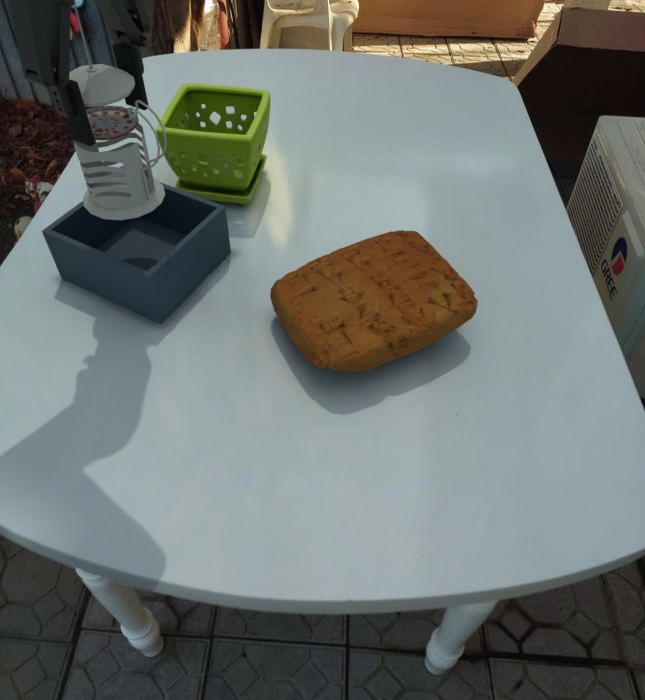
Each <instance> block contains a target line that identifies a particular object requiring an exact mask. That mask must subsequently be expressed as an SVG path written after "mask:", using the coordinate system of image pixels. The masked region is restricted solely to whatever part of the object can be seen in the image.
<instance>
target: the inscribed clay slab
mask: <svg viewBox="0 0 645 700" xmlns="http://www.w3.org/2000/svg"><path fill="white" fill-rule="evenodd" d="M475 294H476V292H475V291H474V290H473V289H472V287H471V286H470V285H469V283H468V282H467V281H466V279H465V278H463V277H461V275H460V274H459V272H458V271H457V270H455V268H454V267H453V266H452V265H451V264H450V262H448V260H447V259H445V258H444V257H443V256H442V255H441V254H440V253H439V251H438V250H437V249H436V248H435V247H434V246H433V245H432V244H431V243H430V242H429V241H427V239H426V238H425V237H424V236H423V235H421V233H419V232H418V231H416V230H403V229H402V230H395V231H392V230H390V231H388V232H385V233H381V234H378V235H375V236H372V237H369V238H368V237H367V238H365V239H362V240H360V241H357V242H355V243H351V244H350V245H348V246H344V247H341V248H338V249H336V250H333V251H331V252H330V253H327V254H324V255H321V256H319V257H317V258H315V259H313V260H310V261H308V262H307V263H305V264H304V265H301V266H300V267H298V268H297V269H295V270H293V271H289V272H288V273H286V274H285V275H283V276H282V277H281V278H279V279H276V281H275V282H274V283H273V285H272V286H271V287H270V295H269V296H270V301H271V304H272V308H273V310H274V312H275V315H276V316H277V319H278V320H279V322H280V325H281V326H282V327H283V329H284V331H285V332H286V333H287V335H288V337H289V339H290V340H291V342H292V344H293V345H294V347H295V348H296V349H297V350H298V351H299V352H300V353H301V355H302V356H303V358H304V359H305V360H306V361H307V362H308V363H309V364H311V365H313V366H314V367H315V368H319V369H330V370H333V371H338V372H342V373H345V374H347V373H354V372H355V373H357V372H364V371H370V370H372V369H376V368H379V367H381V366H383V365H385V364H388V363H390V362H393V361H395V360H397V359H401V358H403V357H405V356H408V355H410V354H412V353H416V352H417V351H420V350H422V349H424V348H426V347H429V346H431V345H433V344H435V343H437V342H439V341H440V340H441V339H442V338H444V337H446V336H447V335H449V334H450V333H452V332H454V331H456V330H457V329H458V328H460V327H462V326H463V325H464V324H466V323H468V322H469V321H470V320H471V319H473V318H474V316H475V314H476V313H477V309H478V305H479V304H478V303H479V300H478V299H477V298H476V296H475Z"/></svg>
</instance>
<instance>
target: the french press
mask: <svg viewBox="0 0 645 700" xmlns="http://www.w3.org/2000/svg"><path fill="white" fill-rule="evenodd" d="M73 8H74V12H75V16H76V20H77V24H78V28H79V32H80V35H81V38H82V43H83V47H84V50H85V53H86V54H85V55H86V58H87V61H88V65H81V66H78V67H76V68H75V69H73V70H70V75H69V79H70V80H73V81H76V82H78V85H79V89H80V92H81V95H82V99H83V102H84V106H85V108H87V107H88V109H86V112H87V116H88V119H89V123H90V126H91V130H92V133H93V136H94V140H95V144H94V145H92V146H88V145H85V144H82V143H80V142H77V141H74V140H72V143H73V146H74V150H75V153H76V156H77V159H78V160H77V161H78V162H79V164H80V169H81V171H82V174H83V179H84V182H85V185H86V188H87V190H86V191H85V193H84V195H83V197H82V201H83V202H84V207H85V208H86V209H87V210H88V211H89V212H90V213H91V214H92V215H95V216H98V217H100V218H103V219H110V220H125V219H131V218H137V217H140V216H142V215H145V214H147V213H149V212H152V211H153V210H154V209H155V208H156V207H158V206H159V205H160V204H161V203H162V201H163V198H164V196H165V191H164V187H163V185H162V184H161V183H162V182H161V181H159V180H157V179H156V178H155V177H154V174H153V169H152V168H154V167H155V166H156V165H157V164H158V163H159V160H160V159H162V158H163V157H165V156H164V154H165V151H166V145H167V140H166V133H165V129H164V126H163V124H162V122H161V118H159V116H158V114H157V113H156V112H155V111H154V109H152V107H151V106H150V105H149V104H148V105H149V106H148V105H146V104H145V103H143V102H142V101H140V100H136V102H135V106H136V107H133V106H130V107H128V108H127V107H124V106H122V105H113V104H115V103H119V102H121V101H123V100H125V98H126V97H127V96H129V95H130V93H131V92H132V90H133V89H134V86H135V81H134V77H133V76H131V75H130V74H129V73H127V72H126V71H123V70H121V69H118V68H117V67H115V66H111V65H107V64H104V63H96V64H92V62H91V58H90V53H89V50H88V45H87V42H86V39H85V35H84V31H83V27H82V24H81V19H80V16H79V11H78V8H77V5H76V2H75V4H74V5H73ZM138 103H140V104H142V105H144V106H145V107H147V108H148V109H147V110H149V112H150V113H151V114H152V115H153V116H154V117H155V119H156V120H157V122H158V124H160V125H161V127H162V129H163V135H164V149H163V152H162V151H161V146H160V144H159V141H158V136H157V133H156V129H155V128H154V127H153V125H152V124H151V122H150V121H149V119H148V118H147V117H146V116H145V115H144V114H143V113H142V112H141V111H139V108H138ZM138 115H139V116H140V117H141V118H142V119H143V120H144V121H145V122H146V123H147V125H148V126H149V127H150V129H151V131H152V132H153V134H154V138H155V141H156V146H157V155H156V157H155V158H153V159H150V155H149V151H148V146H147V141H146V135H145V131H144V126H143V125H142V124H140V122H139V121H140V120H139V116H138ZM134 130H136V131H138V132H139V133H140V134H141V136H140V135H139V134H138V133H136V132H133V131H134ZM127 139H137V140H138V141H137V142H135V141H133V142H131V141H130V142H127V143H125V144H122V145H120V146H118V147H116V148H113V149H110V150H106V151H100V150H99V149H101V148H107V147H110V146H113V145H117V144H118V143H120V142H122V141H125V140H127ZM139 142H140V143H141V144H142V145H141V144H140V143H139ZM141 151H142V152H143V153H141ZM143 161H144V162H145V163H144V162H143ZM151 163H152V164H151ZM117 164H122V165H121V166H114V165H117ZM160 182H161V183H160Z"/></svg>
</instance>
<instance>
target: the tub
mask: <svg viewBox="0 0 645 700" xmlns="http://www.w3.org/2000/svg"><path fill="white" fill-rule="evenodd" d="M159 182H160V183H161V184H162V185H163V187H164V191H165V196H164V198H163V201H162V203H161V204H160V205H159V206H158V207H156V208H155V209H154V210H153V211H152V212H149V213H147V214H145V215H142V216H140V217H137V218H131V219H125V220H110V219H103V218H100V217H98V216H95V215H92V214H91V213H90V212H89V211H88V210H87V209H86V208H85V207H84V202H83V200H82V201H80V202H79V203H78V204H76V205H75V206H73V207H72V208H71V209H70V210H68V211H66V212H65V213H64V214H63V215H61V216H60V217H59V218H57V219H56V220H55V221H54V222H52V223H50V224H49V225H48V226H46V227H45V228H43V229H42V230H41V233H42V235H43V238H44V240H45V242H46V246H47V248H48V250H49V252H50V255H51V257H52V259H53V262H54V264H55V266H56V269H57V271H58V274H59V275H60V278H61V279H62V280H64V281H66V282H68V283H70V284H72V285H74V286H77V287H79V288H81V289H84V290H85V291H88V292H90V293H91V294H92V293H93V294H94V295H97V296H98V297H101V298H102V299H106V300H107V301H110V302H112V303H114V304H116V305H119V306H121V307H122V308H125V309H127V310H129V311H131V312H133V313H136V314H138V315H140V316H142V317H145V318H147V319H148V320H150V321H153V322H155V323H157V324H160V325H162V324H163V323H164V322H165V321H166V320H167V319H168V318H169V317H170V316H171V315H172V314H173V313H174V312H175V311H176V310H177V309H178V308H179V307H180V306H181V305H182V304H183V303H184V302H185V301H186V300H187V299H188V298H189V296H191V295H192V294H193V293H194V291H196V289H197V288H199V287H200V286H201V285H202V284H203V282H205V280H207V279H208V278H209V277H210V276H211V275H212V273H213V272H214V271H215V270H217V268H218V267H220V266H221V264H222V263H224V261H226V260H227V258H228V257H229V256H230V255H231V254H232V251H231V242H230V241H231V240H230V233H229V232H230V231H229V224H228V216H227V215H228V214H227V207H226V206H225V205H224V204H220V203H217V202H216V201H212V200H207V199H204V198H201V197H199V196H196V195H193V194H191V193H188V192H185V191H183V190H180V189H177V188H175V186H172V185H169V184H167V183H164V182H161V181H159Z"/></svg>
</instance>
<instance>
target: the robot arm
mask: <svg viewBox="0 0 645 700" xmlns="http://www.w3.org/2000/svg"><path fill="white" fill-rule="evenodd" d="M93 1H94V3H95V4H96V6H97V8H98V9H99V11H100V13H101V15H102V16H103V18H104V19H105V21H106V23H107V25H108V26H109V28H110V30H111V31H112V34H113V35H114V36H115V38H116V39H117V41H119V42H120V43H119V42H115V43H114V44H112V45H111V46H112V51H113V54H114V59H115V64H116V68H118V69H121V70H123V71H126V72H127V73H129V74H130V75H131V76H133V77H134V81H135V86H134V89H133V90H132V92H131V93H130V95H129V96H127V97H126V98H124V102H125V105H127V106H130V107H133V108H136V106H135V102H136V100H140V101H142V102H143V103H145V104H146V105H148V106H149V107H150V104H149V99H148V96H147V91H146V86H145V81H144V76H143V74H144V73H145V65H144V61H143V55H142V50H141V48H143V49H144V48H146V46H147V45H148V38H147V36H144V34H149V33H151V32H152V31H151V30H152V23H151V20H150V17H149V13H148V10H147V6H146V3H145V0H93ZM7 2H8V8H9V12H10V17H11V22H12V27H13V31H14V36H15V41H16V44H17V50H18V55H19V59H20V64H21V70H22V74H23V77H24V79H25V81H27V82H30V83H33V84H36V85H38V86H42V87H45V88H48V92H49V94H50V98H51V100H52V103H53V106H54V109H55V111H56V113H57V114H58V115H59V116H62V117H63V119H64V122H65V126H66V129H67V132H68V135H69V138H70V140H72V141H73V140H74V141H77V142H80V143H82V144H85V145H88V146H92V145H94V144H95V140H94V136H93V133H92V130H91V126H90V123H89V119H88V116H87V112H86V110H87V109H86V107H85V106H84V102H83V99H82V95H81V92H80V89H79V85H78V82H76V81H73V80H70V79H69V75H70V72H71V70H70V69H71V67H70V65H71V8H72V7H74V4H75V3H76V0H7ZM138 110H142V111H146V110H149V109H148V108H147V107H145V106H144V105H142V104H140V103H138Z"/></svg>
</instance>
